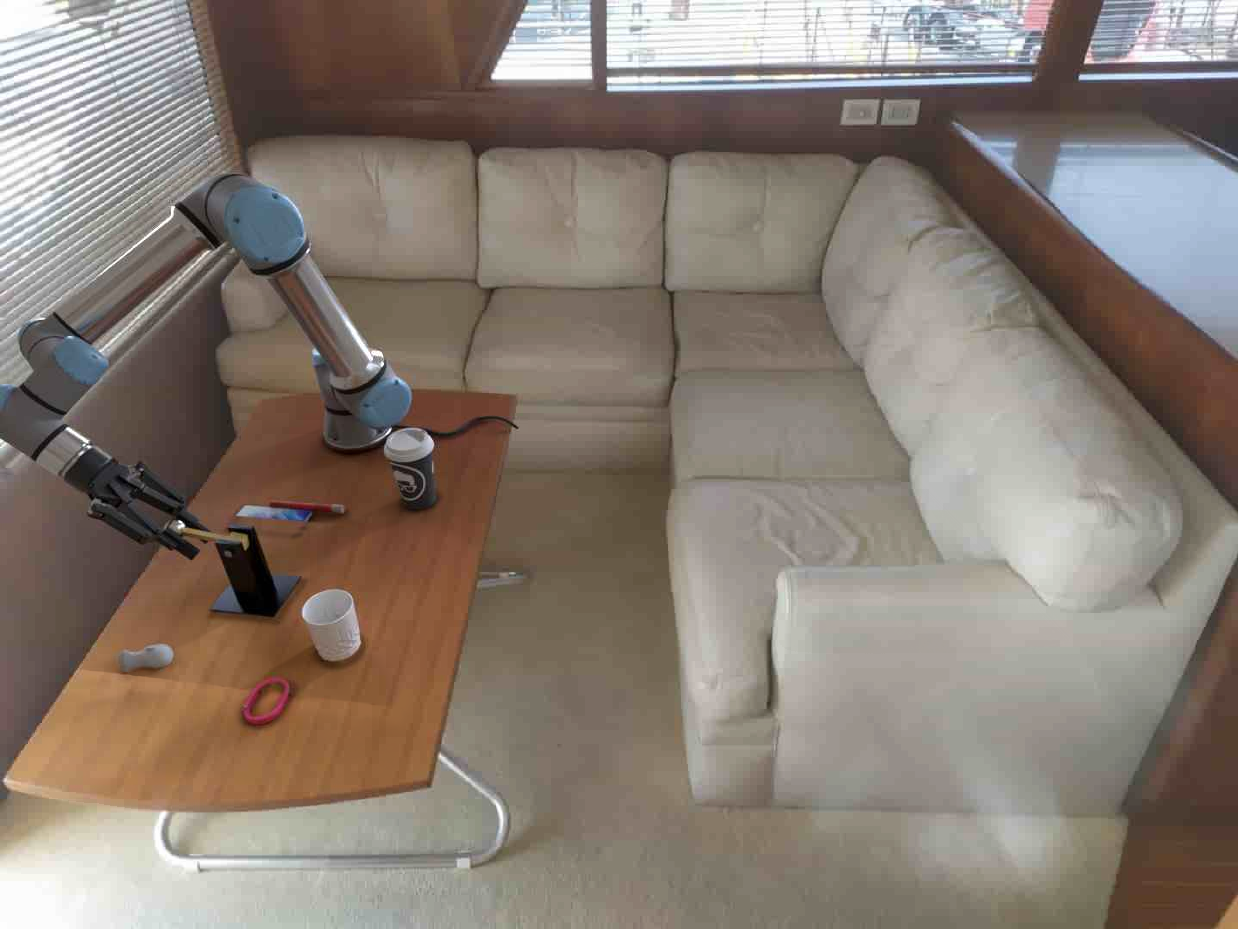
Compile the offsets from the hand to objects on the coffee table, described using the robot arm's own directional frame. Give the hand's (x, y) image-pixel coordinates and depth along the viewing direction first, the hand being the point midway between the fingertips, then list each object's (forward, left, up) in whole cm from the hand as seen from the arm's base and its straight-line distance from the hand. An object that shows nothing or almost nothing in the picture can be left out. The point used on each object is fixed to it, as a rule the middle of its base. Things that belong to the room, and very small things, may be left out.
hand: (203, 547), depth 146 cm
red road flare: (-14, -20, -10) cm, 27 cm away
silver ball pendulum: (-1, 0, +1) cm, 1 cm away
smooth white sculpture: (+10, +14, -11) cm, 20 cm away
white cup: (-20, +20, -11) cm, 31 cm away
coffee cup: (-36, -17, -11) cm, 42 cm away
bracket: (-6, +3, -11) cm, 13 cm away
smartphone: (-7, -19, -11) cm, 23 cm away
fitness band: (-9, +28, -11) cm, 32 cm away
